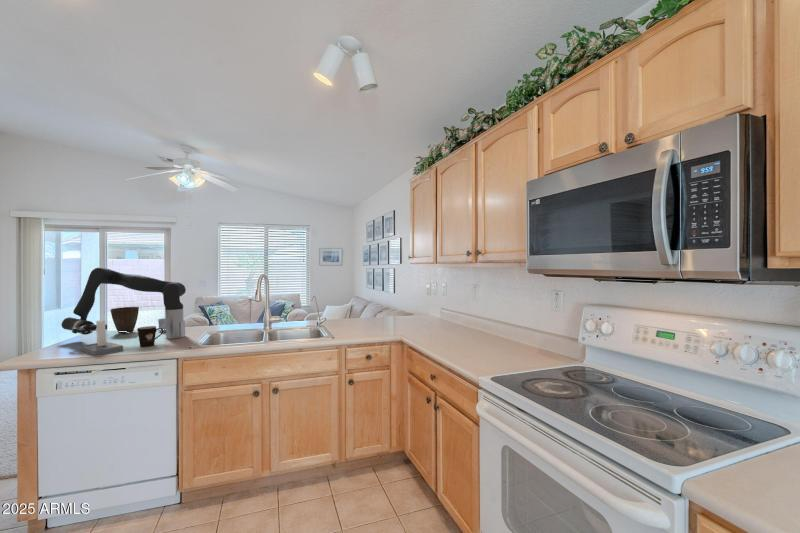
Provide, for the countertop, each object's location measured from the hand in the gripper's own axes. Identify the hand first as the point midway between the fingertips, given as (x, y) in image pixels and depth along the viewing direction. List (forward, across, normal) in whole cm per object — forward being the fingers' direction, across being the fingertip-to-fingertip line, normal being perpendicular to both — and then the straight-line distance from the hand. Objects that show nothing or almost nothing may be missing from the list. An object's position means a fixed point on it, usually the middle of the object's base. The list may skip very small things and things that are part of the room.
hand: (94, 329), depth 197 cm
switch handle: (+9, 0, +7) cm, 12 cm away
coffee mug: (+18, +19, +10) cm, 28 cm away
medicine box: (-19, +44, +10) cm, 49 cm away
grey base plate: (+9, 0, +10) cm, 14 cm away
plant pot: (-36, +27, +10) cm, 46 cm away
